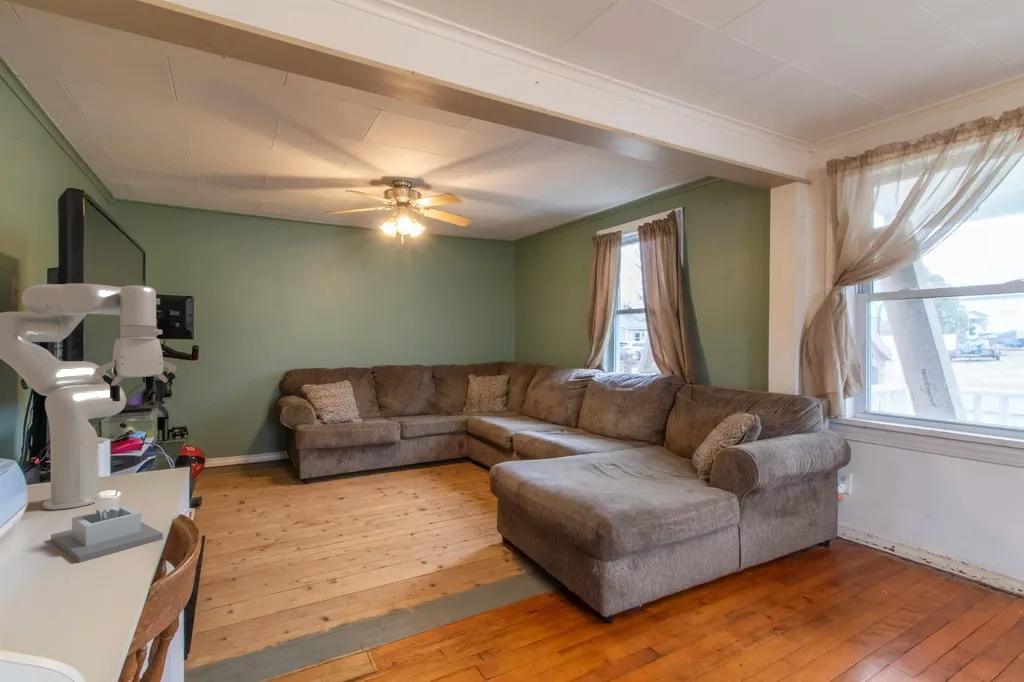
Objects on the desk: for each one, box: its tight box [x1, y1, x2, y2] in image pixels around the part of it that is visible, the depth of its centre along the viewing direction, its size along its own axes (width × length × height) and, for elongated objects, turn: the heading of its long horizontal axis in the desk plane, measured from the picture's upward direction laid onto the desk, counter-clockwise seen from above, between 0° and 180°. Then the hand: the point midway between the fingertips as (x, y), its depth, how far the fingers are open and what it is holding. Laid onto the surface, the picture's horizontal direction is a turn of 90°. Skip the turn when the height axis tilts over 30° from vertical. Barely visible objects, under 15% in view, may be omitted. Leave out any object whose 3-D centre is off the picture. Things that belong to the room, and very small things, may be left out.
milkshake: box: [94, 487, 122, 522], centre depth 108 cm, size 4×5×10 cm
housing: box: [50, 505, 164, 563], centre depth 107 cm, size 20×14×5 cm
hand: (138, 399), depth 128 cm, fingers open, 9 cm apart
